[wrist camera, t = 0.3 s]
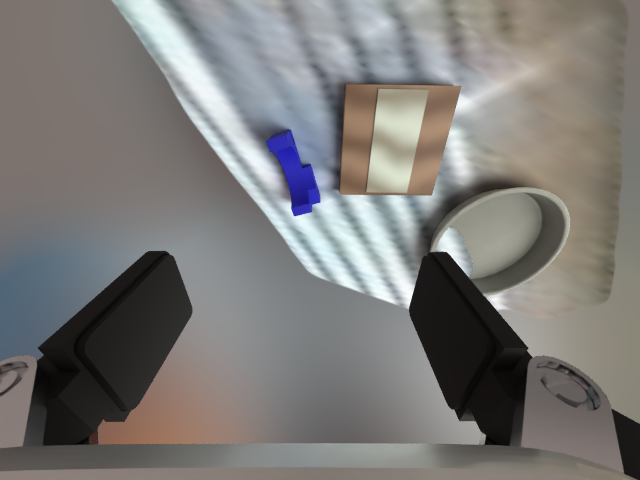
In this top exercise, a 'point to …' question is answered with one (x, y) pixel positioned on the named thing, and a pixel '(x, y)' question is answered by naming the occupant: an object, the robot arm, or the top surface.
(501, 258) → the cake pan
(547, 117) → the top surface
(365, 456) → the robot arm
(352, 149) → the mounting board
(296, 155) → the blue curved stepped block
